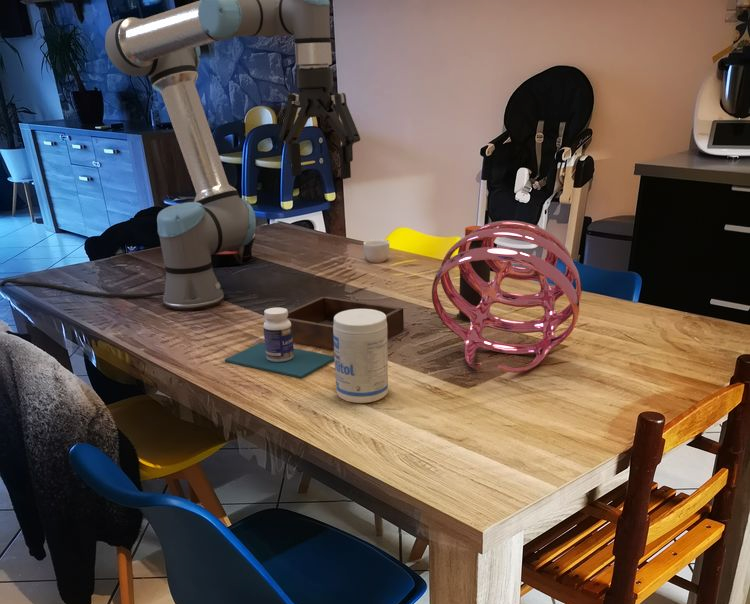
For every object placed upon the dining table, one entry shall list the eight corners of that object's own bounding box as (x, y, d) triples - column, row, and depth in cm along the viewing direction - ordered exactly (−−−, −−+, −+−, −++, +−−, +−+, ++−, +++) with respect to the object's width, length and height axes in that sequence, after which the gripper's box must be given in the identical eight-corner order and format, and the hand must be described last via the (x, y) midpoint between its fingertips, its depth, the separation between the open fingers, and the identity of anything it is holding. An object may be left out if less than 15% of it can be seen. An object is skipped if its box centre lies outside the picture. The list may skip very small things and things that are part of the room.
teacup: (395, 260, 223) (394, 242, 220) (374, 265, 219) (374, 246, 217) (374, 255, 230) (374, 237, 227) (354, 259, 226) (353, 241, 223)
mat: (224, 361, 155) (224, 359, 155) (262, 344, 164) (261, 341, 163) (301, 378, 145) (301, 376, 145) (336, 358, 154) (336, 356, 154)
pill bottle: (289, 363, 151) (284, 315, 146) (262, 362, 152) (257, 314, 147) (297, 353, 156) (293, 306, 151) (271, 352, 157) (266, 305, 152)
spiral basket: (532, 297, 119) (567, 173, 129) (387, 317, 135) (428, 205, 145) (584, 397, 139) (611, 283, 149) (453, 403, 155) (485, 300, 165)
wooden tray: (277, 339, 166) (274, 317, 163) (324, 316, 179) (323, 296, 176) (359, 355, 155) (358, 331, 153) (403, 330, 168) (403, 308, 166)
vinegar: (453, 318, 174) (454, 228, 164) (470, 311, 178) (473, 223, 168) (476, 323, 170) (479, 232, 160) (494, 316, 174) (498, 226, 164)
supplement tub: (326, 396, 137) (320, 318, 130) (360, 380, 143) (356, 304, 136) (365, 409, 132) (362, 328, 124) (399, 392, 138) (398, 313, 130)
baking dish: (213, 262, 238) (202, 230, 233) (265, 253, 235) (256, 221, 229) (199, 277, 227) (187, 244, 221) (254, 268, 223) (244, 234, 217)
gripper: (374, 65, 153) (377, 177, 164) (279, 67, 165) (287, 172, 176) (353, 66, 148) (358, 181, 159) (256, 69, 160) (267, 176, 170)
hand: (321, 176), depth 167 cm, fingers open, 13 cm apart
